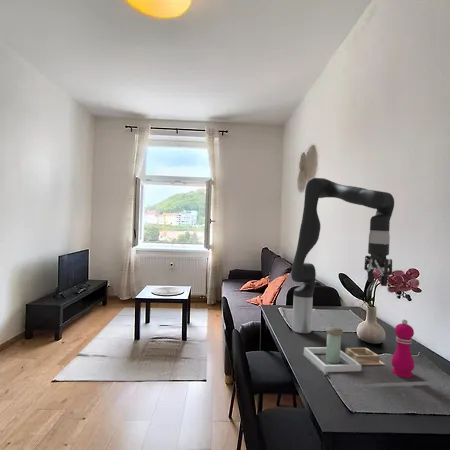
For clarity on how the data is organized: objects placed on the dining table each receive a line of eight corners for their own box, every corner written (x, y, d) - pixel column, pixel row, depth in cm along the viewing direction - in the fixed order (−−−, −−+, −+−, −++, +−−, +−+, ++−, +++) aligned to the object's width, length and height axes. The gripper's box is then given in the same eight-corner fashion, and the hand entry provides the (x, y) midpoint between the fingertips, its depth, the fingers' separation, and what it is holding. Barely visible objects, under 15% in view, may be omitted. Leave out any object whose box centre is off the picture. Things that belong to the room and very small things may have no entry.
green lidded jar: (321, 358, 133) (323, 327, 133) (336, 357, 134) (337, 327, 134) (328, 364, 127) (330, 331, 127) (344, 364, 128) (345, 331, 128)
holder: (339, 355, 139) (340, 346, 139) (366, 354, 141) (367, 346, 141) (355, 367, 127) (356, 358, 127) (385, 366, 129) (385, 357, 129)
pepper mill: (401, 381, 117) (404, 322, 117) (386, 372, 124) (388, 317, 124) (418, 380, 119) (421, 322, 119) (402, 371, 126) (405, 316, 126)
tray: (303, 355, 138) (303, 347, 138) (336, 354, 140) (336, 347, 140) (324, 374, 120) (324, 366, 120) (361, 373, 122) (361, 365, 122)
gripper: (359, 241, 142) (358, 280, 142) (381, 243, 127) (379, 287, 128) (376, 241, 143) (374, 281, 143) (399, 244, 129) (397, 287, 129)
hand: (376, 283), depth 135 cm, fingers open, 8 cm apart
